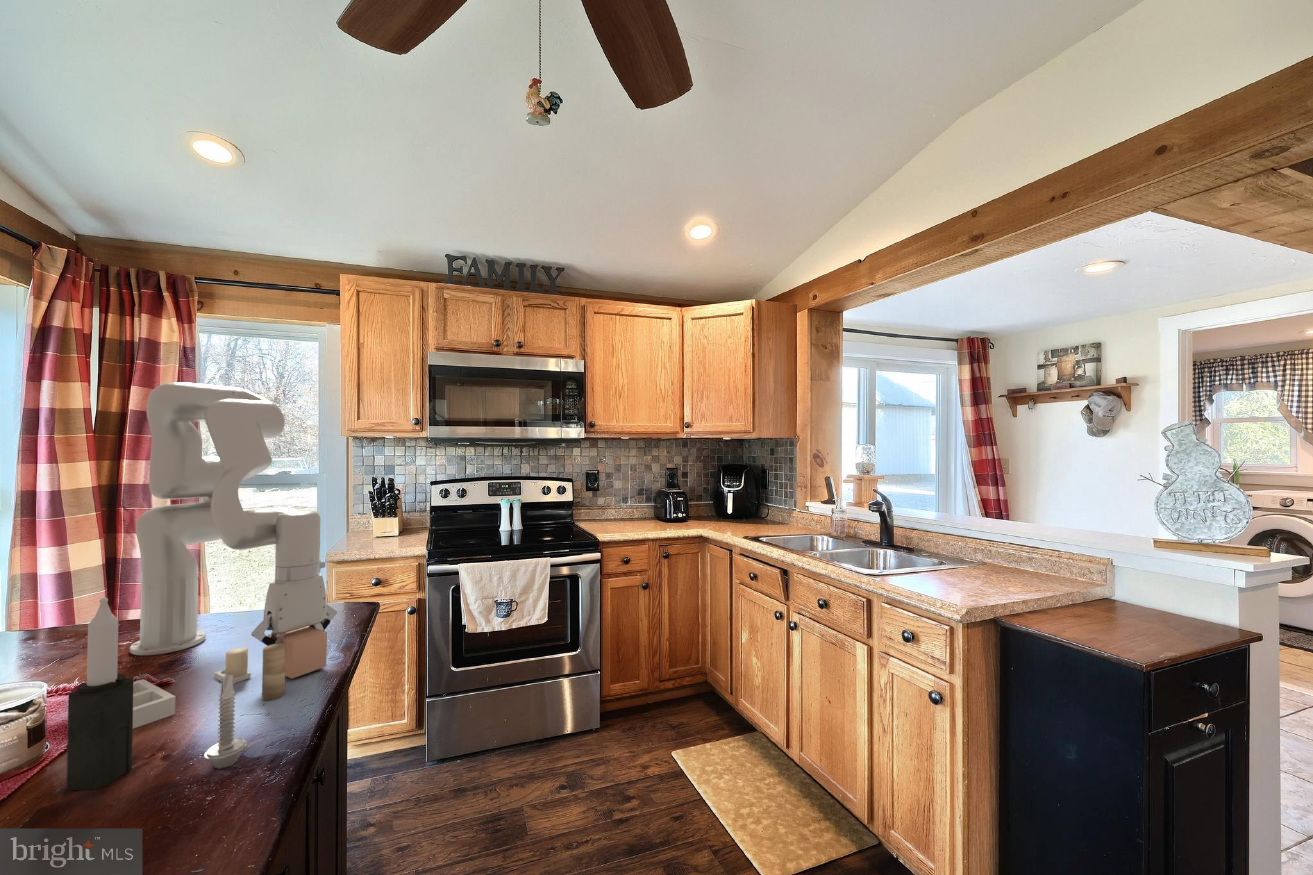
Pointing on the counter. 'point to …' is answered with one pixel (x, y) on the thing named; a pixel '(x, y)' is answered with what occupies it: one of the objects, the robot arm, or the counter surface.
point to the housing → (304, 651)
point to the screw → (226, 730)
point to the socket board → (150, 703)
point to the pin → (273, 672)
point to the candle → (100, 711)
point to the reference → (235, 665)
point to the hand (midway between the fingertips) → (296, 659)
